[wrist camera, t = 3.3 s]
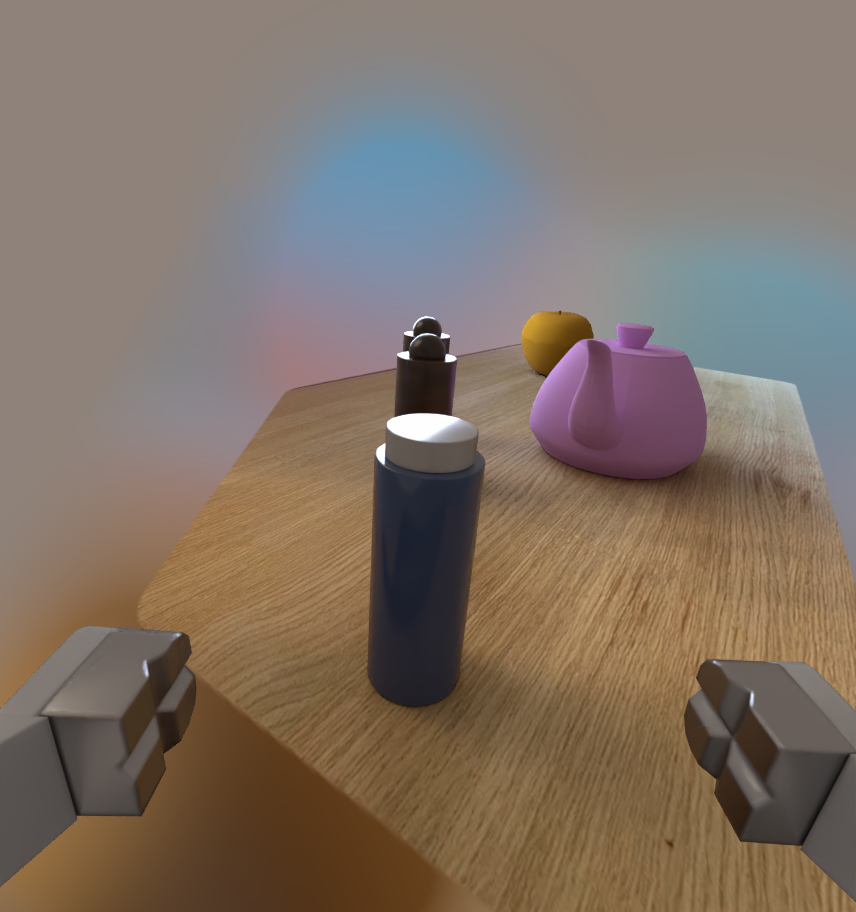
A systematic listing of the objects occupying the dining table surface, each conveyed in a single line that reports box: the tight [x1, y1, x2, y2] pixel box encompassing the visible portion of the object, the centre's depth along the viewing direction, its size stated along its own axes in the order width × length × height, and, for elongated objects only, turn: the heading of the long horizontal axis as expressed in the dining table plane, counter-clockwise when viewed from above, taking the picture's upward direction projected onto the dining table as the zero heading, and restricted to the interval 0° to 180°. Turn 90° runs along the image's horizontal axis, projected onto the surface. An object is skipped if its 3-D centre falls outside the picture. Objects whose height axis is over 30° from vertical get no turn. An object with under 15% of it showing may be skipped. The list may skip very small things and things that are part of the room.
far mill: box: [403, 317, 450, 355], centre depth 53 cm, size 5×5×13 cm
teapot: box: [530, 323, 707, 479], centre depth 51 cm, size 25×18×14 cm
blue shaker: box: [367, 414, 485, 706], centre depth 21 cm, size 4×4×12 cm
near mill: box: [394, 333, 457, 418], centre depth 41 cm, size 5×5×13 cm
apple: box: [521, 311, 593, 376], centre depth 91 cm, size 13×13×11 cm
